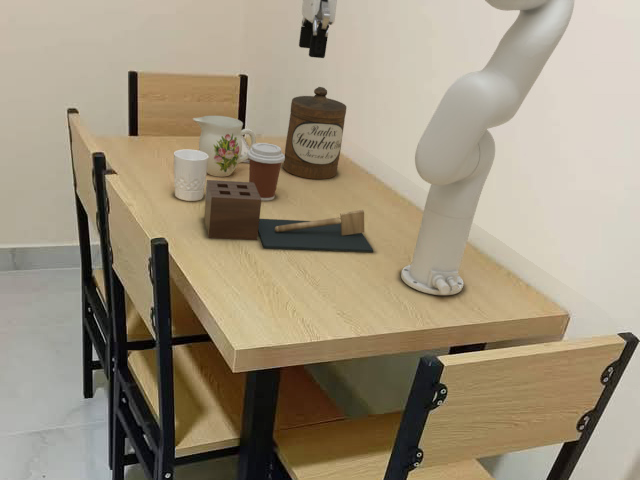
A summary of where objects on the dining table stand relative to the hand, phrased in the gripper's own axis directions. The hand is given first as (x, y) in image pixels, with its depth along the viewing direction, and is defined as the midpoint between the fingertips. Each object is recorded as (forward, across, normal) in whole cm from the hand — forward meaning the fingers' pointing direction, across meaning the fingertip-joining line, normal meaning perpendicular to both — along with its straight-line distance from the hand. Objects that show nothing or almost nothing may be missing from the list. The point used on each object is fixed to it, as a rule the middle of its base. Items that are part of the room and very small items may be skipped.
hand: (311, 52), depth 151 cm
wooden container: (+36, +37, -13) cm, 54 cm away
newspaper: (+36, +51, +8) cm, 63 cm away
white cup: (+36, +12, +22) cm, 44 cm away
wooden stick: (+35, -9, +5) cm, 37 cm away
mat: (+36, -9, -4) cm, 38 cm away
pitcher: (+36, +31, +12) cm, 49 cm away
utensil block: (+36, -7, +14) cm, 40 cm away
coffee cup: (+36, +15, +4) cm, 40 cm away
